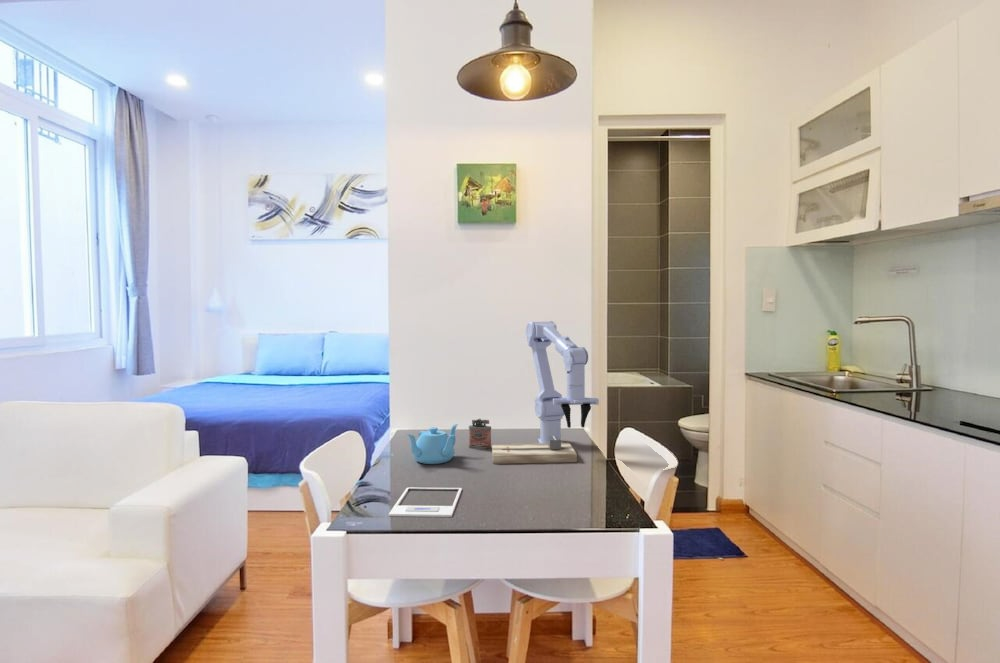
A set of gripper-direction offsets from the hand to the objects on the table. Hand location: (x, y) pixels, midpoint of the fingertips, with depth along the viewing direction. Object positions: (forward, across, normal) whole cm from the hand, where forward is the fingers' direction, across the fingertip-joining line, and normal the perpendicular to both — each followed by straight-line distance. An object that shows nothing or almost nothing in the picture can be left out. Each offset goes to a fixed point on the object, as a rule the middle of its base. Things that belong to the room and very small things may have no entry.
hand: (575, 426), depth 166 cm
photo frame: (+10, -44, -38) cm, 59 cm away
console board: (+9, -14, 0) cm, 17 cm away
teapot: (+10, -45, -2) cm, 46 cm away
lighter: (+10, -31, +12) cm, 35 cm away
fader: (+7, -7, 0) cm, 10 cm away
